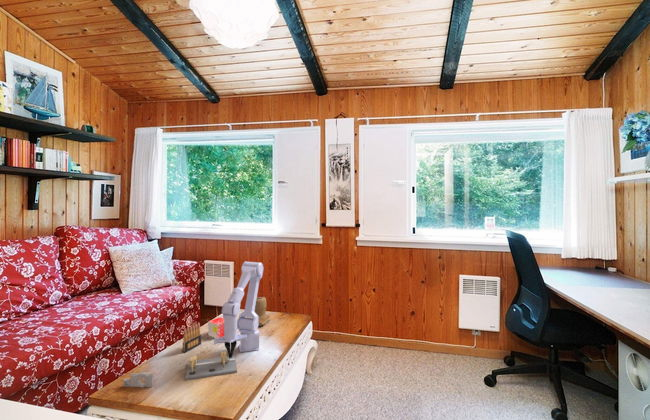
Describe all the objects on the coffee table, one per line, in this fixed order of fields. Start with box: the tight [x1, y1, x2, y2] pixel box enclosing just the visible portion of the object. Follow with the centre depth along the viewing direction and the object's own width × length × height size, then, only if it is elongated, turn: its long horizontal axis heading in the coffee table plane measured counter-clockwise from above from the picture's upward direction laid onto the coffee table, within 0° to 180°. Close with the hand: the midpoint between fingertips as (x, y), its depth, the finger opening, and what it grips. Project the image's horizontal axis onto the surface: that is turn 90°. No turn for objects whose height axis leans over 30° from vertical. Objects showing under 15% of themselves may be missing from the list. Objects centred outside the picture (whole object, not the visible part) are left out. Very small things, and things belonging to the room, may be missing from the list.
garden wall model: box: [122, 371, 156, 388], centre depth 130 cm, size 12×2×6 cm, turn 91°
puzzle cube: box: [207, 316, 224, 339], centre depth 179 cm, size 8×8×8 cm
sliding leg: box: [220, 350, 227, 368], centre depth 146 cm, size 2×8×3 cm, turn 19°
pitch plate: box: [185, 354, 238, 381], centre depth 144 cm, size 21×14×5 cm, turn 109°
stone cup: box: [254, 296, 271, 327], centre depth 198 cm, size 15×12×15 cm
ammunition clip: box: [181, 321, 202, 354], centre depth 163 cm, size 11×2×12 cm, turn 157°
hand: (230, 357), depth 149 cm, fingers closed
